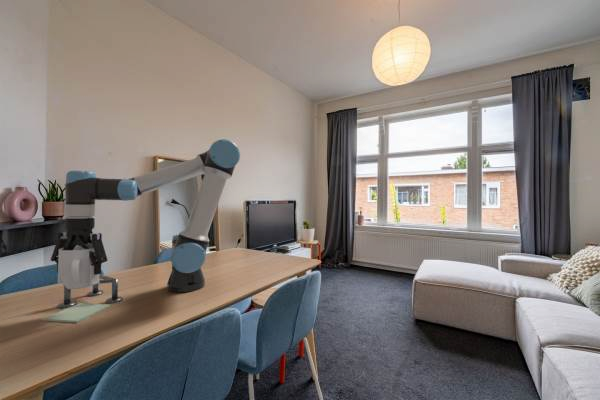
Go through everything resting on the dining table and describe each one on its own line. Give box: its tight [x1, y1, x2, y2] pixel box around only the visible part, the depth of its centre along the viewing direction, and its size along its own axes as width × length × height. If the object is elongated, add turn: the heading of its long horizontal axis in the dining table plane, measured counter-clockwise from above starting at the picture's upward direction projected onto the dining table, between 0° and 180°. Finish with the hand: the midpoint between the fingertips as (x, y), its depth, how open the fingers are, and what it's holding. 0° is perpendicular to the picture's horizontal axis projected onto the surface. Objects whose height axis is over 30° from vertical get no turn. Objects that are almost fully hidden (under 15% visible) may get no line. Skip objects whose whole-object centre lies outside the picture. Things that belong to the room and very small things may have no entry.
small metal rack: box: [57, 273, 124, 309], centre depth 94 cm, size 18×16×9 cm
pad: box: [42, 302, 112, 324], centre depth 83 cm, size 12×12×1 cm
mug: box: [58, 245, 97, 290], centre depth 83 cm, size 15×11×13 cm
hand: (78, 283), depth 83 cm, fingers closed on mug, 11 cm apart
